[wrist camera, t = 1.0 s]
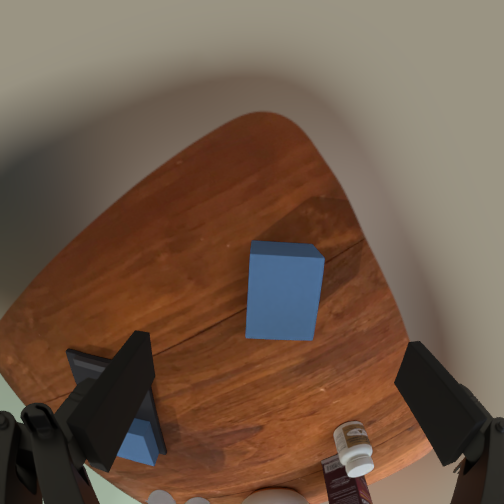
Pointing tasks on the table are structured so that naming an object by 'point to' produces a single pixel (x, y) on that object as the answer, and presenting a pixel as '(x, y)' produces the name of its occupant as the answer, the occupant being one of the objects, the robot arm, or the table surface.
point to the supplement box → (344, 484)
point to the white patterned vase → (275, 496)
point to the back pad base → (144, 424)
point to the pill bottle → (354, 448)
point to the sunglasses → (162, 500)
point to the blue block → (283, 290)
